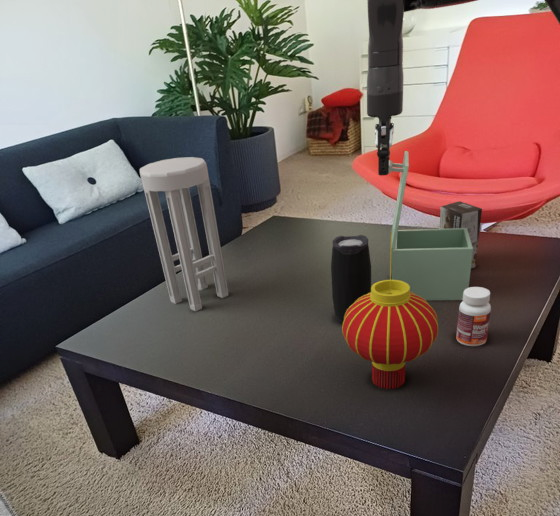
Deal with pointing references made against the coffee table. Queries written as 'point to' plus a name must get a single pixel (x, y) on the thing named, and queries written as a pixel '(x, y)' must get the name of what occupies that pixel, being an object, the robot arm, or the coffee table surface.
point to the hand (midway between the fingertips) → (384, 170)
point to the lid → (399, 193)
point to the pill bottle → (474, 316)
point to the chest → (433, 262)
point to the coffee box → (463, 222)
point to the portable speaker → (349, 272)
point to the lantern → (390, 327)
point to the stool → (184, 226)
